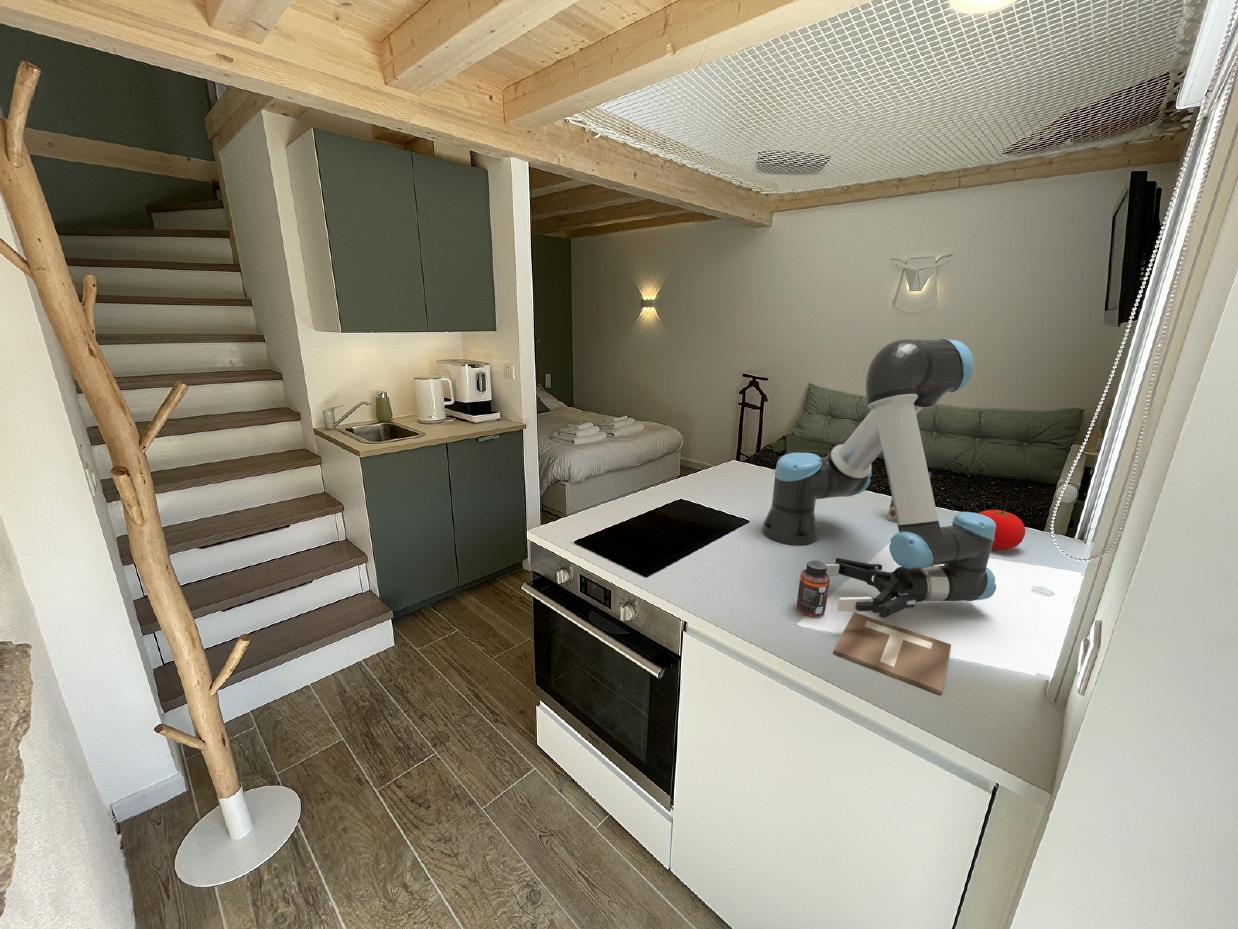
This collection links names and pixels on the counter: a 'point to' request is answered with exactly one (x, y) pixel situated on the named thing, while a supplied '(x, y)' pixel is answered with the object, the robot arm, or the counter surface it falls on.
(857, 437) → the robot arm
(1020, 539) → the tomato
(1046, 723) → the counter surface
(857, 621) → the letter board
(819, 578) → the supplement bottle
